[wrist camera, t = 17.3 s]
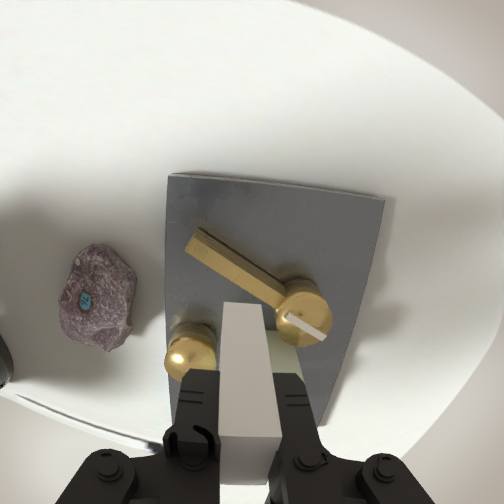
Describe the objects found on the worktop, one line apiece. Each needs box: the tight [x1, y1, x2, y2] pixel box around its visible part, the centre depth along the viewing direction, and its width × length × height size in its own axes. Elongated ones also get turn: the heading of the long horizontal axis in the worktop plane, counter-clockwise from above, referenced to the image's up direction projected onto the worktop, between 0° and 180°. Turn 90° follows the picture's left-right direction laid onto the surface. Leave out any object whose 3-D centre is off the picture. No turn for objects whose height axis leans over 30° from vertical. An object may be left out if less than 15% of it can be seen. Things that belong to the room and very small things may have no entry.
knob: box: [185, 228, 333, 347], centre depth 27 cm, size 14×5×5 cm, turn 54°
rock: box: [58, 244, 136, 352], centre depth 30 cm, size 8×11×5 cm
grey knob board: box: [164, 173, 385, 427], centre depth 32 cm, size 20×34×6 cm, turn 174°
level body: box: [265, 330, 305, 383], centre depth 28 cm, size 6×5×10 cm
